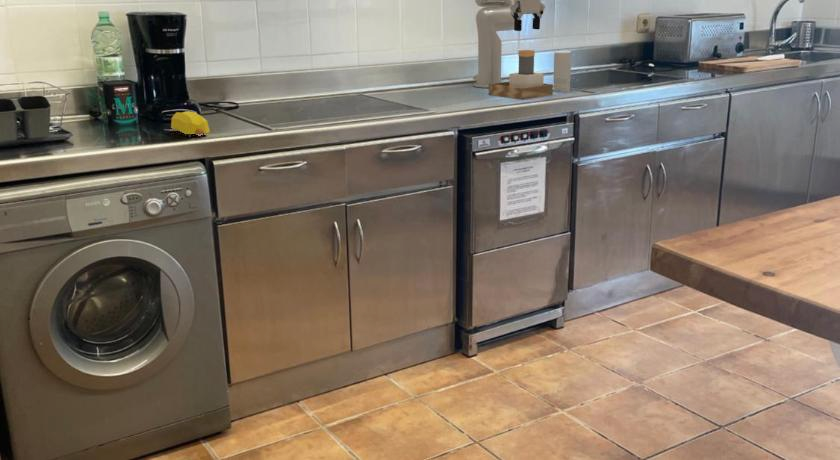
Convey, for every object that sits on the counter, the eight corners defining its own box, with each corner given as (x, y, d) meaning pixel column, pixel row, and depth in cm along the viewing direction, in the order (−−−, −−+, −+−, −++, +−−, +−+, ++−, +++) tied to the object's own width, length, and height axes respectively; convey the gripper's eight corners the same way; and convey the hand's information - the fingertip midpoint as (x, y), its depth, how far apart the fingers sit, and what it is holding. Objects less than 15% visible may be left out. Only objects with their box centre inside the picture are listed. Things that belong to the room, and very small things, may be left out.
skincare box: (569, 93, 317) (571, 52, 312) (552, 93, 318) (553, 52, 313) (570, 90, 324) (571, 50, 320) (553, 90, 326) (554, 50, 321)
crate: (488, 96, 313) (488, 84, 312) (517, 91, 323) (518, 80, 321) (523, 101, 300) (523, 88, 298) (552, 96, 309) (552, 84, 308)
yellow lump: (192, 128, 258) (168, 131, 254) (190, 107, 256) (166, 110, 252) (213, 137, 244) (188, 140, 240) (211, 115, 242) (186, 117, 238)
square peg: (517, 83, 309) (518, 50, 306) (525, 82, 312) (526, 49, 308) (525, 84, 306) (526, 51, 303) (533, 83, 309) (534, 50, 305)
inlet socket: (509, 95, 311) (509, 73, 308) (525, 92, 316) (526, 71, 314) (526, 97, 304) (527, 75, 302) (543, 95, 310) (543, 73, 307)
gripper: (537, -19, 307) (535, 28, 312) (504, -18, 296) (503, 30, 302) (552, -19, 301) (550, 29, 306) (519, -18, 291) (517, 32, 296)
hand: (527, 29), depth 304 cm, fingers open, 9 cm apart
